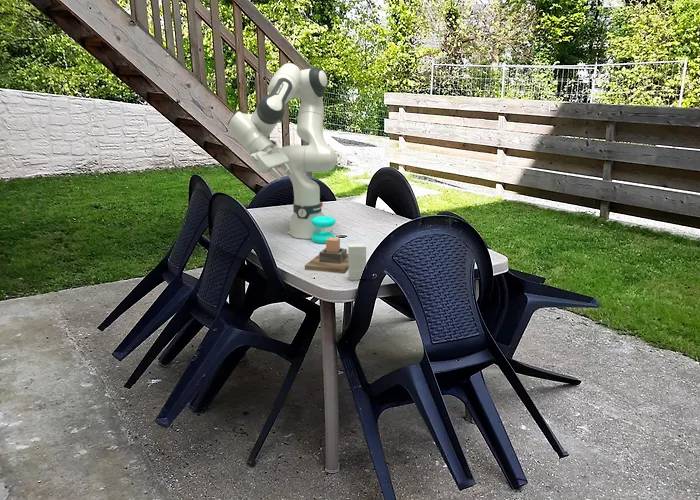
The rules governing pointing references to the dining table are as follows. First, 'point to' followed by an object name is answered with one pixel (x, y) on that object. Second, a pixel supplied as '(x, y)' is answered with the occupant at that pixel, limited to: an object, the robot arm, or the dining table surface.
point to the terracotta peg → (333, 245)
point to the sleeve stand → (330, 262)
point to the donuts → (322, 223)
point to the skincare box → (356, 260)
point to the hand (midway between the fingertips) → (285, 176)
